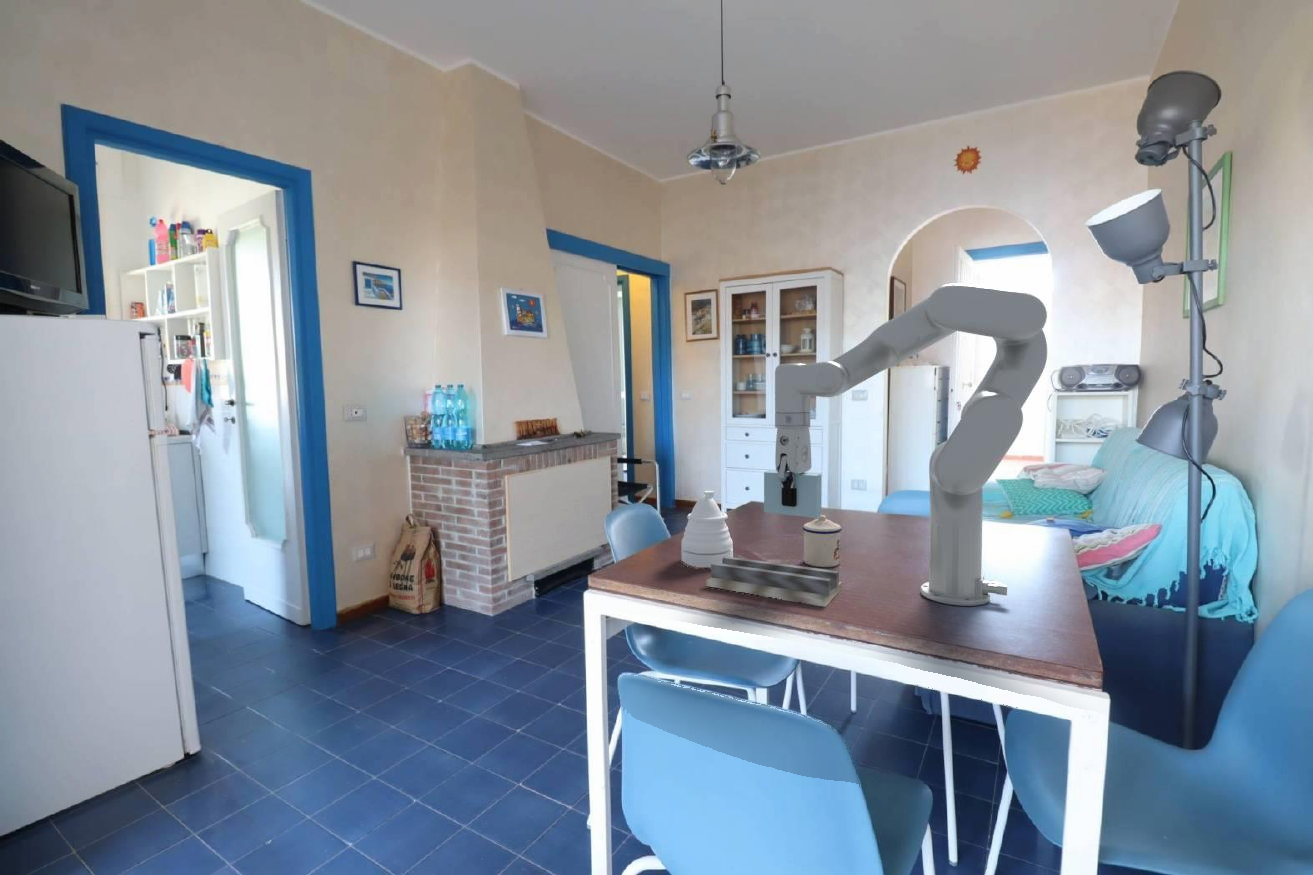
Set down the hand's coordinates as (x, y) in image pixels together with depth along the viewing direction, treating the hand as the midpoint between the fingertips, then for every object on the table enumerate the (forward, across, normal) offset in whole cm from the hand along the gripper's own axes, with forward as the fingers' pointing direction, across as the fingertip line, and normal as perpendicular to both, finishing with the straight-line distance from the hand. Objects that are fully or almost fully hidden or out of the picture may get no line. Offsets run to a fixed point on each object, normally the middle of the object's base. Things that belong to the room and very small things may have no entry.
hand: (792, 503), depth 135 cm
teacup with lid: (+18, +19, 0) cm, 26 cm away
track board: (+18, -6, +2) cm, 19 cm away
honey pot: (+18, +5, +24) cm, 31 cm away
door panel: (+2, 0, 0) cm, 2 cm away
